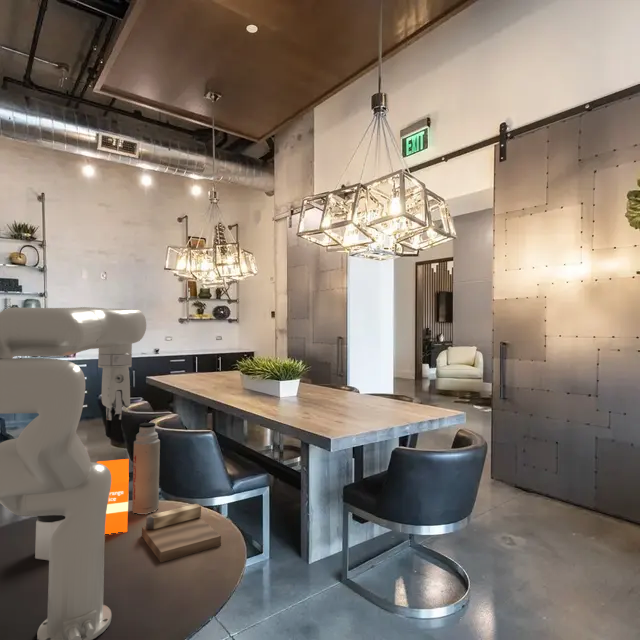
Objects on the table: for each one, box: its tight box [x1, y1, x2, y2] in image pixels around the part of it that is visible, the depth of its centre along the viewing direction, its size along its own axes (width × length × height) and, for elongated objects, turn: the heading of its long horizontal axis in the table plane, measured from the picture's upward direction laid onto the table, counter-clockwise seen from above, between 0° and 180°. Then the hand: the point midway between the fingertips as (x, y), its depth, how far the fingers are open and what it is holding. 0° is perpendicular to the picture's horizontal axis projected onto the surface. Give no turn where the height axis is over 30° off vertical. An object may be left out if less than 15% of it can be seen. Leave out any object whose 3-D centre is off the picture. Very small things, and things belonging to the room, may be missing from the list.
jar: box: [34, 515, 65, 561], centre depth 116 cm, size 9×8×12 cm
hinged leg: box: [145, 503, 202, 530], centre depth 129 cm, size 16×3×3 cm, turn 129°
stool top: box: [141, 517, 222, 563], centre depth 124 cm, size 18×16×2 cm
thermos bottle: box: [131, 422, 161, 514], centre depth 146 cm, size 8×8×28 cm
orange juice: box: [96, 458, 130, 535], centre depth 131 cm, size 8×9×20 cm
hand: (113, 435), depth 110 cm, fingers closed
